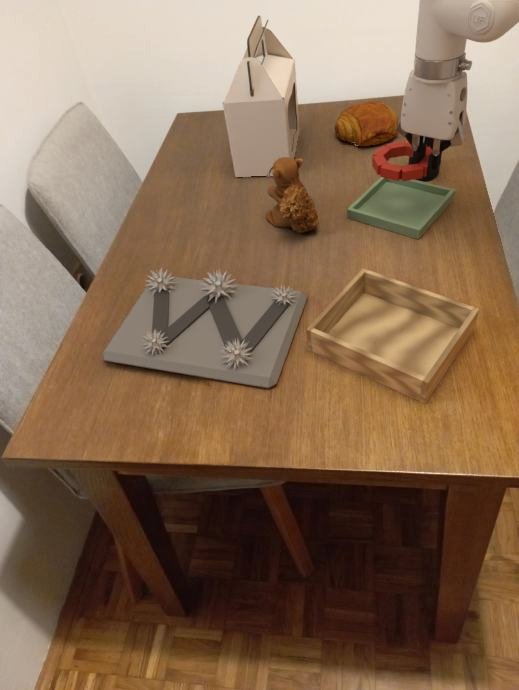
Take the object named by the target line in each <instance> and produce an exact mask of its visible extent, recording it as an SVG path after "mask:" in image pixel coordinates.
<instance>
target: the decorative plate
mask: <svg viewBox="0 0 519 690" xmlns="http://www.w3.org/2000/svg"><path fill="white" fill-rule="evenodd" d="M155 271H156V272H155ZM155 271H153V270H150V273H151V276H150V275H148V274H146V277H147V278H146V279H144V281H145V282H148V283H147V284H145V288H144V289H143V290H142V292H141V294H140V295H139V296H138V299H137V300H136V302H135V303H134V305H133V306H132V308H131V309H130V310H129V312H128V314H127V315H126V316H125V318H124V320H123V321H122V322H121V324H120V326H119V327H118V328H117V330H116V332H115V333H114V335H113V337H112V339H110V341H109V343H108V344H107V345H106V348H104V350H103V352H102V353H101V356H102V359H103V361H104V362H109V363H114V364H115V363H116V364H122V365H128V366H133V367H139V368H146V369H152V370H157V371H161V372H168V373H175V374H180V375H186V376H191V377H192V376H193V377H197V378H204V379H210V380H216V381H222V382H228V383H232V384H233V383H234V384H241V385H247V386H252V387H257V388H264V389H270V388H272V387H274V386H276V385H277V384H278V382H279V379H280V376H281V373H282V370H283V368H284V365H285V362H286V360H287V357H288V353H289V351H290V348H291V345H292V342H293V339H294V337H295V334H296V331H297V328H298V326H299V323H300V320H301V316H302V314H303V312H304V308H305V306H306V302H307V300H308V295H307V294H306V292H305V291H303V290H296V289H295V290H293V288H290V287H291V286H290V285H289V286H288V287H287V288H286V285H285V284H283V286H282V284H280V285H279V286H280V288H278V287H268V286H258V285H250V284H240V283H234V282H235V281H236V280H237V279H236V278H234V279H230V278H231V275H232V273H227V272H228V270H227V269H226V271H225V272H224V273H223V274H222V273H221V269H220V267H218V270H216V272H215V269H214V268H213V271H212V272H213V274H211V272H209V271H206V273H207V275H208V277H209V278H208V277H203V276H201V278H202V279H196V278H187V277H186V278H185V277H178V276H172V274H173V272H170V271H169V268H167V269H166V271H164V272H163V267H161V268H160V270H158V269H157V268H155ZM169 272H170V273H169ZM229 279H230V280H229Z"/></svg>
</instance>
